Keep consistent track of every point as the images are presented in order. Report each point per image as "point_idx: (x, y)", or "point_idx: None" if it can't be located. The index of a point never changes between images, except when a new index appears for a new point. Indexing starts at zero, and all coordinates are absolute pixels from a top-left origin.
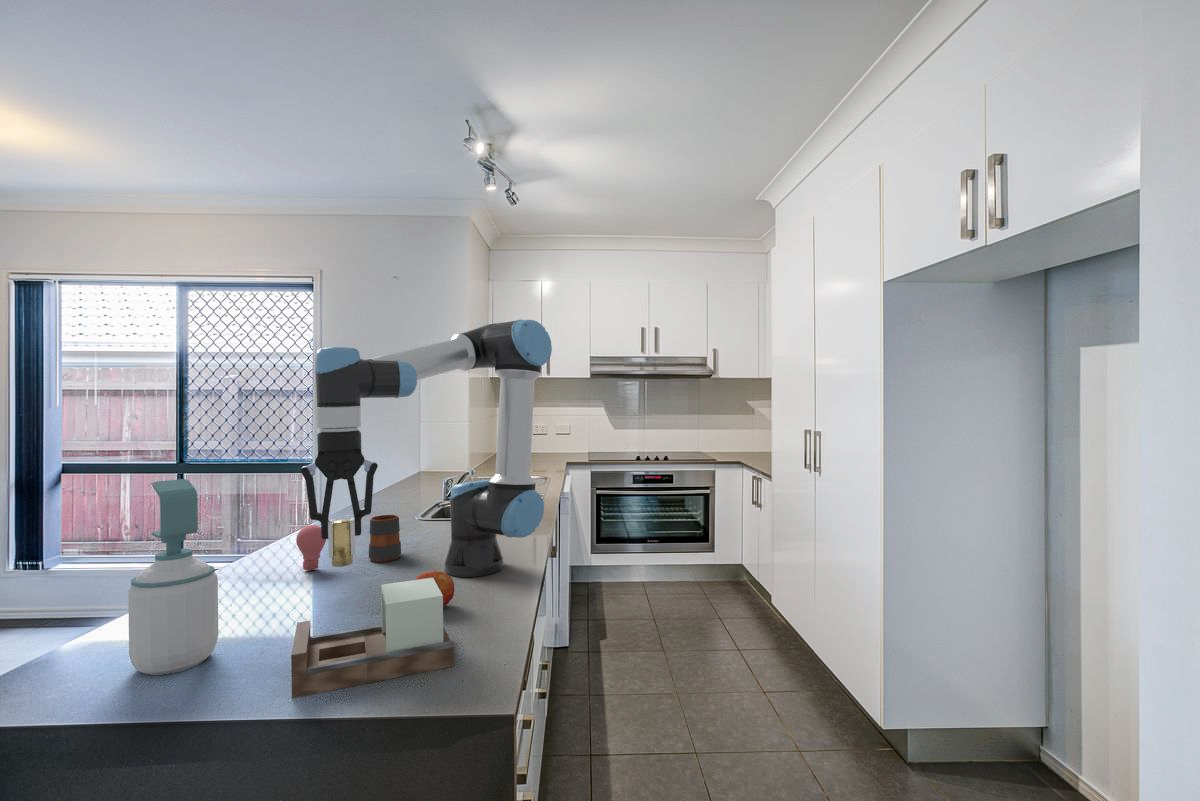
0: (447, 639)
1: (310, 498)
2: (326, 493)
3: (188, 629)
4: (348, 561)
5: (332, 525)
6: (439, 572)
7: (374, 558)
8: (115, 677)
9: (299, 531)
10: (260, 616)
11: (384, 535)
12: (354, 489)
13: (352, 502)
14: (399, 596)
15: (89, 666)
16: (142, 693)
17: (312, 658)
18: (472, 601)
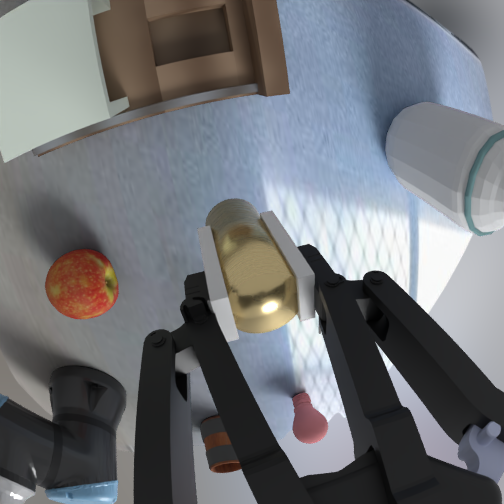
0: None
1: (430, 329)
2: (379, 372)
3: (434, 113)
4: (214, 211)
5: (293, 269)
6: (62, 303)
7: None
8: None
9: (326, 431)
10: (344, 272)
11: (222, 445)
12: (235, 430)
13: (232, 365)
14: (55, 21)
15: None
16: (422, 69)
17: (238, 17)
18: (39, 282)
